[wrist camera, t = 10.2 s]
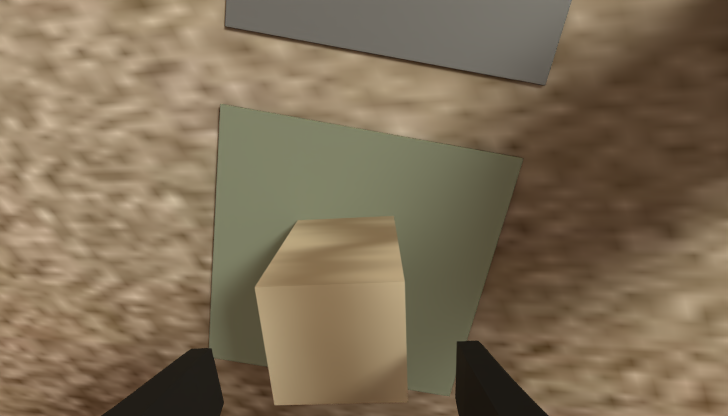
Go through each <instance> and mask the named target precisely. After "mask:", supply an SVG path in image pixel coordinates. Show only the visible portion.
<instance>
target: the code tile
mask: <svg viewBox="0 0 728 416" xmlns="http://www.w3.org/2000/svg"><path fill="white" fill-rule="evenodd" d="M571 1H572V0H226V18H225V26H226V27H232V28H237V29H242V30H248V31H253V32H259V33H264V34H269V35H275V36H280V37H286V38H291V39H296V40H302V41H307V42H313V43H318V44H324V45H329V46H334V47H340V48H345V49H351V50H356V51H361V52H367V53H372V54H378V55H383V56H389V57H394V58H399V59H405V60H410V61H416V62H421V63H426V64H432V65H437V66H443V67H448V68H454V69H459V70H464V71H470V72H475V73H481V74H486V75H491V76H497V77H502V78H508V79H513V80H519V81H524V82H529V83H535V84H540V85H546V81H547V78H548V75H549V72H550V69H551V65H552V62H553V59H554V56H555V52H556V49H557V46H558V43H559V40H560V36H561V33H562V30H563V27H564V23H565V20H566V17H567V14H568V11H569V7H570V4H571Z"/></svg>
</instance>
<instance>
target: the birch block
mask: <svg viewBox="0 0 728 416" xmlns="http://www.w3.org/2000/svg"><path fill="white" fill-rule="evenodd" d="M255 293H256V298H257V304H258V310H259V316H260V322H261V328H262V334H263V340H264V346H265V352H266V358H267V364H268V369H269V375H270V381H271V387H272V393H273V399H274V405H311V404H358V403H404V402H408V385H407V347H406V309H405V280H404V274H403V268H402V262H401V256H400V250H399V244H398V238H397V232H396V226H395V220H394V216H380V217H358V218H336V219H314V220H298V221H297V222H296V224H295V225H294V227H293V228H292V230H291V231H290V233H289V235H288V236H287V238H286V239H285V241H284V242H283V244H282V245H281V247H280V249H279V250H278V252H277V253H276V255H275V256H274V258H273V259H272V261H271V263H270V264H269V266H268V267H267V269H266V270H265V272H264V273H263V275H262V277H261V278H260V280H259V281H258V283H257V284H256V286H255Z"/></svg>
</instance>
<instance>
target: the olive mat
mask: <svg viewBox="0 0 728 416" xmlns="http://www.w3.org/2000/svg"><path fill="white" fill-rule="evenodd" d="M523 159H524V158H520V157H515V156H509V155H503V154H498V153H492V152H487V151H481V150H476V149H470V148H464V147H459V146H453V145H448V144H442V143H437V142H431V141H425V140H420V139H414V138H409V137H403V136H398V135H392V134H386V133H381V132H375V131H370V130H364V129H359V128H353V127H347V126H342V125H336V124H331V123H325V122H320V121H314V120H308V119H303V118H297V117H292V116H286V115H281V114H275V113H269V112H264V111H258V110H253V109H247V108H241V107H236V106H230V105H225V104H220V123H219V144H218V165H217V186H216V207H215V228H214V250H213V271H212V292H211V313H210V334H209V348H212V352H213V357H214V358H217V359H223V360H229V361H235V362H241V363H247V364H254V365H260V366H266V367H268V364H267V358H266V352H265V346H264V340H263V334H262V328H261V322H260V316H259V310H258V304H257V298H256V293H255V286H256V284H257V283H258V281H259V280H260V278H261V277H262V275H263V273H264V272H265V270H266V269H267V267H268V266H269V264H270V263H271V261H272V259H273V258H274V256H275V255H276V253H277V252H278V250H279V249H280V247H281V245H282V244H283V242H284V241H285V239H286V238H287V236H288V235H289V233H290V231H291V230H292V228H293V227H294V225H295V224H296V222H297V221H298V220H314V219H336V218H358V217H380V216H394V220H395V226H396V232H397V238H398V244H399V250H400V256H401V262H402V268H403V274H404V280H405V309H406V347H407V385H408V390H413V391H420V392H426V393H432V394H438V395H444V396H450V393H451V390H452V386H453V383H454V380H455V377H456V349H457V341H467V338H468V335H469V332H470V329H471V326H472V322H473V319H474V316H475V313H476V310H477V306H478V303H479V300H480V297H481V293H482V290H483V287H484V284H485V281H486V277H487V274H488V271H489V268H490V265H491V261H492V258H493V255H494V252H495V249H496V245H497V242H498V239H499V236H500V233H501V229H502V226H503V223H504V220H505V217H506V213H507V210H508V207H509V204H510V200H511V197H512V194H513V191H514V188H515V184H516V181H517V178H518V175H519V172H520V168H521V165H522V162H523Z"/></svg>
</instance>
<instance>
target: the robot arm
mask: <svg viewBox="0 0 728 416" xmlns="http://www.w3.org/2000/svg"><path fill="white" fill-rule="evenodd" d="M455 399H456V404H457V409H458V414H459V416H548V415H547V414H546V413H545V412H544V411H543V410H542V409H541V408H540V407H539V406H538V405H537V404H536V403H535V402H534V401H533V400H532V399H531V398H530V397H529V396H528V395H527V393H526V392H525V391H524V390H523V389H522V388H521V387H520V386H519V385H518V384H517V383H516V382H515V381H514V380H513V379H512V378H511V377H510V376H509V374H508V373H507V372H506V371H505V370H504V369H503V368H502V367H501V366H500V364H499V363H498V362H497V361H496V360H495V359H494V358H493V356H492V355H491V354H490V353H489V352H488V351H487V349H486V348H485V347H484V346H483V345H482V344H481V343H480V342H479V341H457V349H456V394H455ZM223 404H224V401H223V396H222V392H221V387H220V383H219V379H218V374H217V370H216V365H215V361H214V357H213V352H212V348H200V349H191V350H189V351H188V352H186V353H185V354H183V355H182V356H181V357H179V358H178V359H177V360H175V361H174V362H173V363H171V364H170V365H169V366H167V367H166V368H165V369H163V370H162V371H161V372H159V373H158V374H157V375H155V376H154V377H153V378H152V379H150V380H149V381H148V382H146V383H145V384H144V385H142V386H141V387H140V388H138V389H137V390H136V391H134V392H133V393H132V394H131V395H129V396H128V397H127V398H125V399H124V400H123V401H121V402H120V403H119V404H117V405H116V406H114V407H113V408H112V409H110V410H109V411H107V412H106V413H105V414H103V415H102V416H220V413H221V410H222V407H223Z"/></svg>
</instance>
